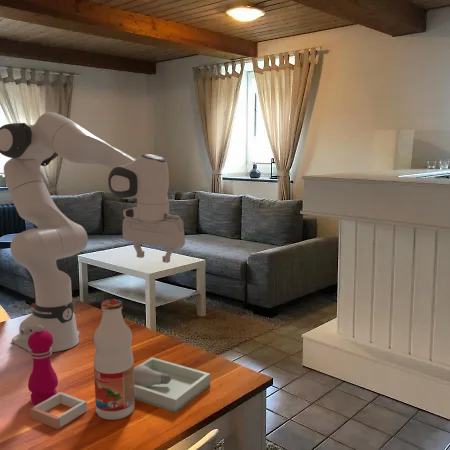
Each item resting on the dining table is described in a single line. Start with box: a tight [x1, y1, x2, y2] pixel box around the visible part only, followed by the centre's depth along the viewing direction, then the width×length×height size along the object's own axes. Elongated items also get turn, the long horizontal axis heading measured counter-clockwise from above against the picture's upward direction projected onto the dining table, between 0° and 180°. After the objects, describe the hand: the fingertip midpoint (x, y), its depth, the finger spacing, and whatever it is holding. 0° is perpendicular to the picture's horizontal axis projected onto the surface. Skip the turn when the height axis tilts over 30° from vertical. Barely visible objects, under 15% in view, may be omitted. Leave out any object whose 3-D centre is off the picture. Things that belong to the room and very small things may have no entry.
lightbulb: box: [134, 364, 171, 388], centre depth 132 cm, size 6×6×11 cm
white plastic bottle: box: [93, 298, 136, 421], centre depth 120 cm, size 9×9×28 cm
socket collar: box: [29, 391, 88, 430], centre depth 120 cm, size 9×9×2 cm
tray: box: [134, 356, 211, 414], centre depth 133 cm, size 20×16×4 cm
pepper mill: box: [27, 325, 59, 406], centre depth 126 cm, size 7×7×20 cm
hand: (153, 259), depth 143 cm, fingers open, 8 cm apart
